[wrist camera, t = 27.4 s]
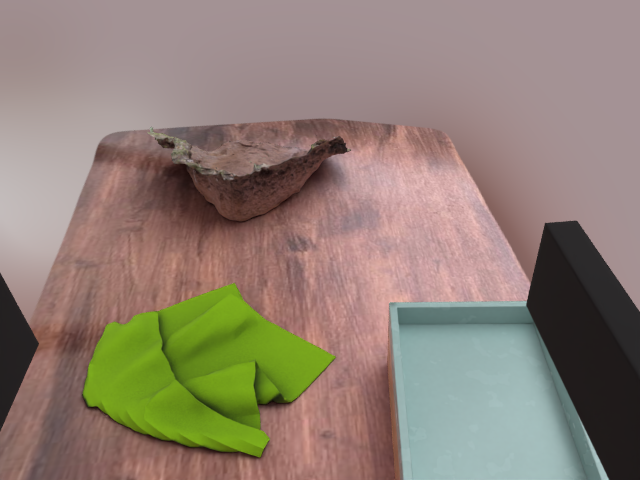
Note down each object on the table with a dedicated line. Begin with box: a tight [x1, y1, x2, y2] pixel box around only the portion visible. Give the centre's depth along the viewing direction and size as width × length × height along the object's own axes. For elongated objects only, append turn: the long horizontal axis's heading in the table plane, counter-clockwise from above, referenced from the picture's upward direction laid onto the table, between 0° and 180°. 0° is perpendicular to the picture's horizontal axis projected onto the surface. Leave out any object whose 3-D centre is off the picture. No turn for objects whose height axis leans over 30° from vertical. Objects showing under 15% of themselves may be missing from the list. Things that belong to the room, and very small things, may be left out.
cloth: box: [82, 283, 336, 457], centre depth 50 cm, size 20×22×2 cm
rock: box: [148, 127, 351, 221], centre depth 72 cm, size 26×22×10 cm
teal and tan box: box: [387, 301, 609, 480], centre depth 41 cm, size 17×12×8 cm
